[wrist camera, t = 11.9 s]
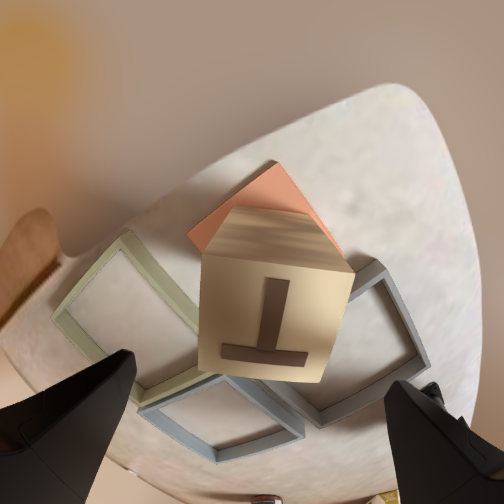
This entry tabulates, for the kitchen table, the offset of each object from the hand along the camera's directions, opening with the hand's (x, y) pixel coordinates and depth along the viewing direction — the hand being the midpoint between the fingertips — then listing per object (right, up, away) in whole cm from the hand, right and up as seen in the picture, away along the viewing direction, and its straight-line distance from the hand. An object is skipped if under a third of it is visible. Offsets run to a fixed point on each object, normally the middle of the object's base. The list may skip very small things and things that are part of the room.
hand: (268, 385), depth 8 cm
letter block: (+1, +5, +11) cm, 12 cm away
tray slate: (-4, -14, +18) cm, 23 cm away
